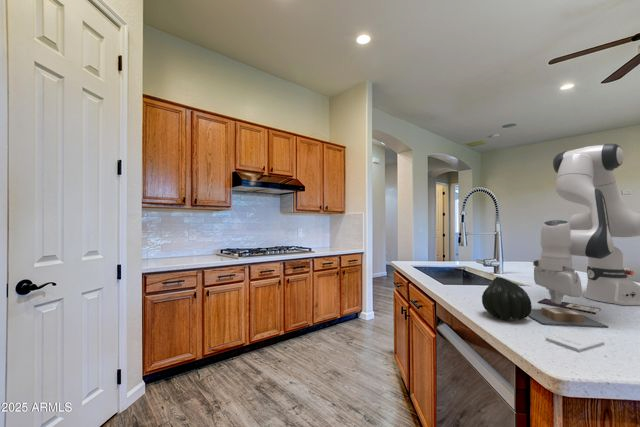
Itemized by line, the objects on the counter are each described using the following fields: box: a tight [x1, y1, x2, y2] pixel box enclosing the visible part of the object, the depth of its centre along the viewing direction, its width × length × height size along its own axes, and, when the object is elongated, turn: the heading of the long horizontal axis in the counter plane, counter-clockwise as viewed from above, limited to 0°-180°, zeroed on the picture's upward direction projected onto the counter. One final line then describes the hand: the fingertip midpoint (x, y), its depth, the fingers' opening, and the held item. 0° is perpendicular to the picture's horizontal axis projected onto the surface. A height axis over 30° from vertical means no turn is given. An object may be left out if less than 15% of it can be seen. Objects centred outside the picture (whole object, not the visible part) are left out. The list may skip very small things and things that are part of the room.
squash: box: [481, 276, 533, 321], centre depth 105 cm, size 14×15×15 cm
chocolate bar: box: [537, 298, 602, 315], centre depth 118 cm, size 9×1×18 cm
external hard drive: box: [545, 331, 605, 353], centre depth 83 cm, size 2×8×12 cm
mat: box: [527, 308, 609, 329], centre depth 104 cm, size 20×16×1 cm
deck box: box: [541, 307, 585, 322], centre depth 102 cm, size 9×3×7 cm
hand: (556, 302), depth 105 cm, fingers closed
